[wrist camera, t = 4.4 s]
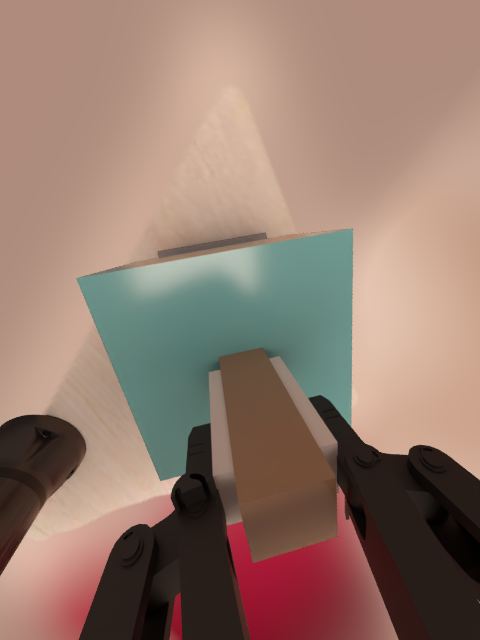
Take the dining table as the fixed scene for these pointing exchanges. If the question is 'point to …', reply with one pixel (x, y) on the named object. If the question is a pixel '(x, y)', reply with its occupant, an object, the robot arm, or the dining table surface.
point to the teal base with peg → (239, 366)
